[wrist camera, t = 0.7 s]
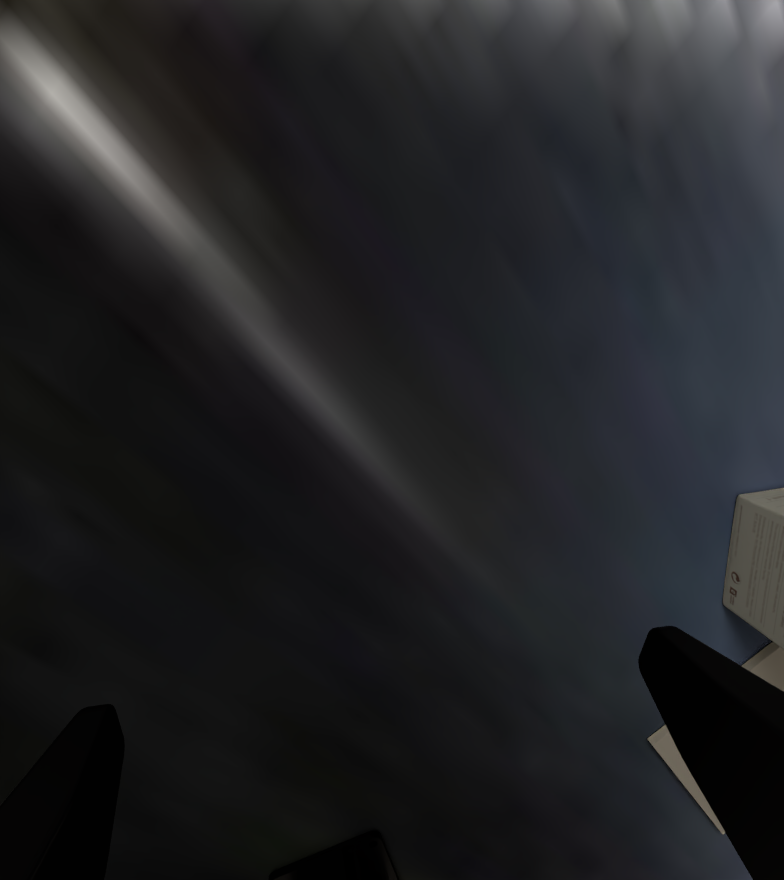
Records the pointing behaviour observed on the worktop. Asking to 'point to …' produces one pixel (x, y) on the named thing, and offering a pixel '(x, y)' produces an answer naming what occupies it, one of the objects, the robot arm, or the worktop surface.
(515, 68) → the worktop surface
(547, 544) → the worktop surface
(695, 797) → the grey mat
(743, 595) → the supplement box
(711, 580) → the worktop surface
